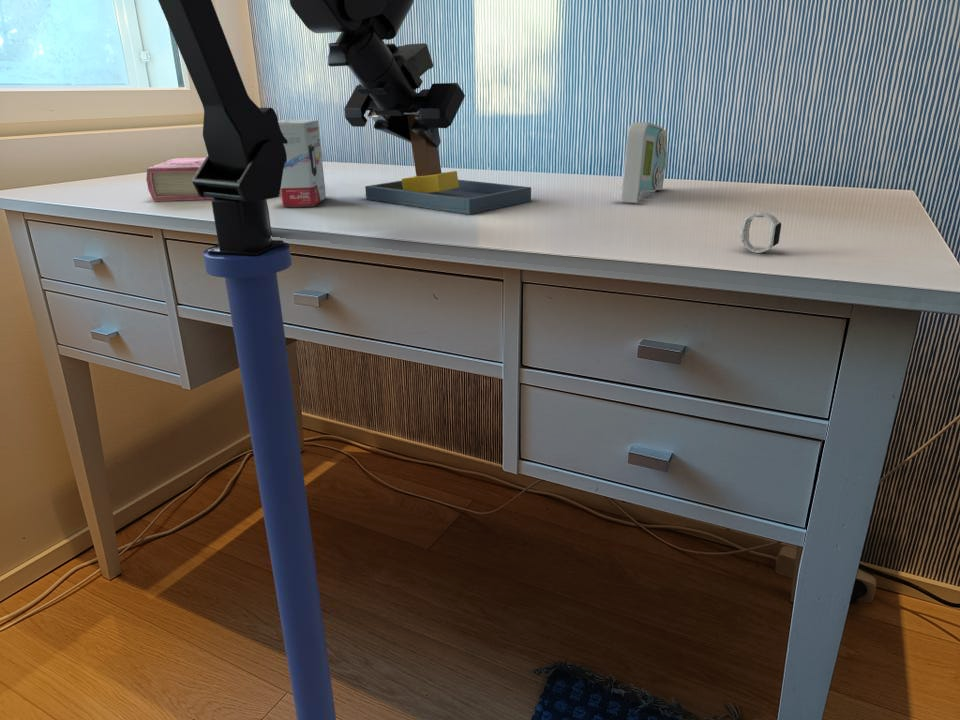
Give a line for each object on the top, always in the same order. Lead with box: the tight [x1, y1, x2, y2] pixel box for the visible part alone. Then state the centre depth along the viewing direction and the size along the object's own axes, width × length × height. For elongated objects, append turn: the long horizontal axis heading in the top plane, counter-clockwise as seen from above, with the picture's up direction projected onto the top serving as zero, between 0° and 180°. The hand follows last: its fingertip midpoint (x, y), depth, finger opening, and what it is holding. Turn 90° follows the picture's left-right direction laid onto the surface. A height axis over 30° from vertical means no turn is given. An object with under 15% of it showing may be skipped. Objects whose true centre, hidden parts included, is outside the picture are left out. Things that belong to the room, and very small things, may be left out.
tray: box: [364, 179, 532, 215], centre depth 103 cm, size 22×14×2 cm, turn 49°
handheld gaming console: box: [620, 121, 669, 205], centre depth 103 cm, size 11×3×15 cm
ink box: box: [278, 119, 327, 208], centre depth 102 cm, size 9×5×12 cm, turn 179°
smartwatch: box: [739, 211, 782, 254], centre depth 70 cm, size 4×2×4 cm, turn 52°
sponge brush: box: [401, 114, 459, 193], centre depth 103 cm, size 5×7×13 cm
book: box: [145, 157, 213, 202], centre depth 114 cm, size 14×15×5 cm
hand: (430, 144), depth 104 cm, fingers closed on sponge brush, 3 cm apart
